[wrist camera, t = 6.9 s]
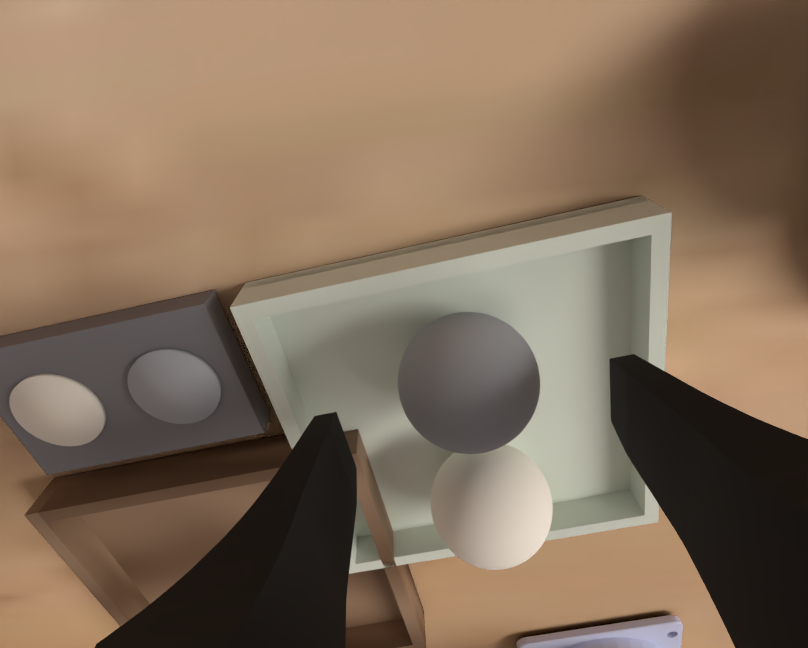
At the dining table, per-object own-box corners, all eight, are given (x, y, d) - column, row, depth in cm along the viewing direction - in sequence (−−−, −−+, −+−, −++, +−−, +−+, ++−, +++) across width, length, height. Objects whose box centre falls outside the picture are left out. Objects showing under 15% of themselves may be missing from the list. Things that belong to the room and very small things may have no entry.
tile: (270, 414, 17) (262, 437, 16) (63, 454, 18) (43, 479, 17) (214, 289, 15) (201, 306, 14) (-21, 341, 16) (-51, 361, 15)
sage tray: (637, 487, 20) (657, 521, 18) (349, 536, 21) (346, 574, 19) (641, 195, 14) (671, 212, 13) (245, 282, 15) (229, 307, 14)
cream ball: (538, 488, 19) (573, 585, 15) (437, 505, 19) (448, 606, 16) (529, 407, 17) (565, 498, 14) (416, 429, 17) (423, 523, 14)
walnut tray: (423, 611, 23) (426, 649, 22) (186, 649, 24) (173, 688, 23) (359, 419, 18) (356, 453, 16) (53, 478, 19) (24, 515, 17)
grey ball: (525, 383, 17) (564, 470, 13) (409, 406, 17) (417, 497, 13) (513, 277, 15) (554, 344, 11) (383, 304, 15) (383, 378, 11)
